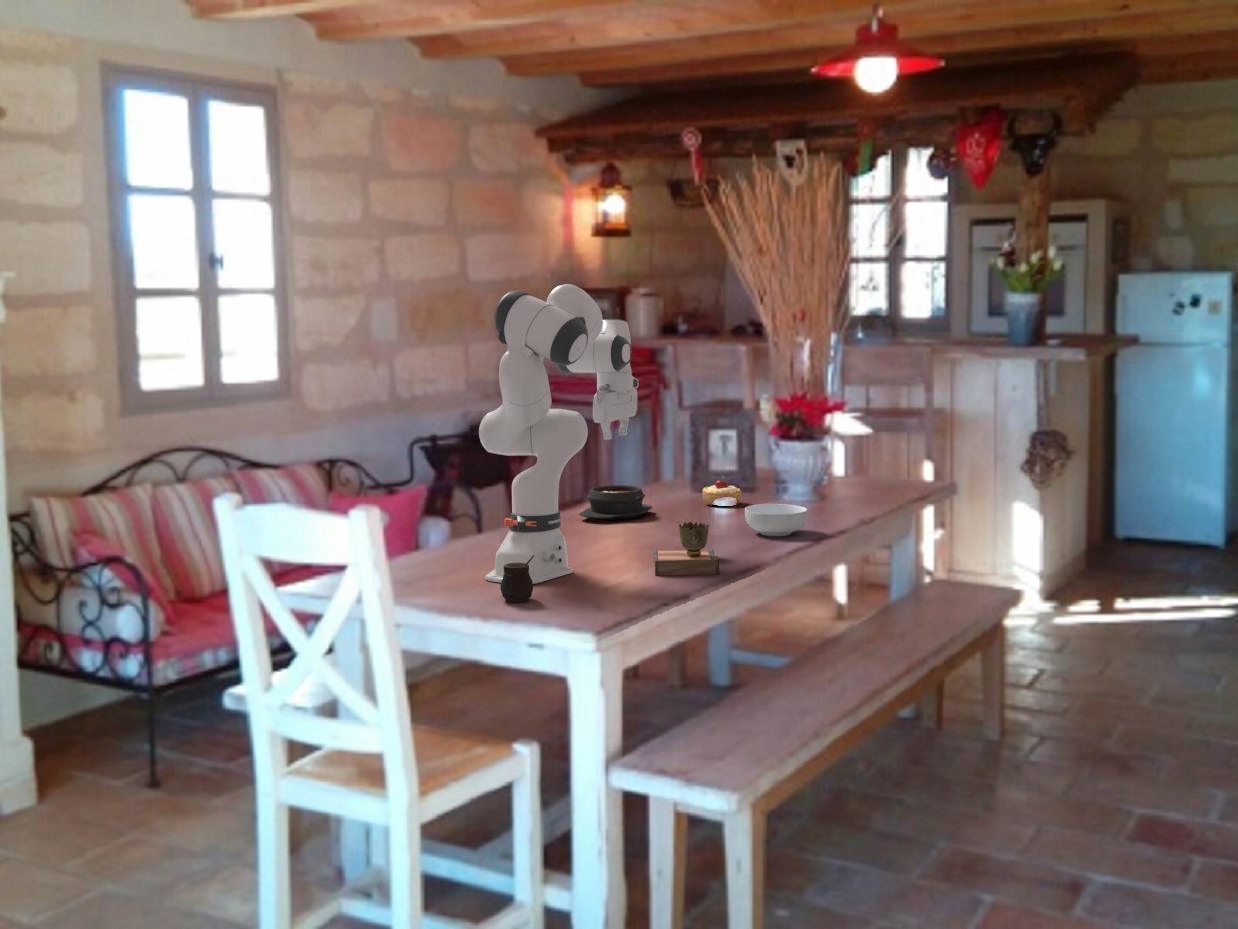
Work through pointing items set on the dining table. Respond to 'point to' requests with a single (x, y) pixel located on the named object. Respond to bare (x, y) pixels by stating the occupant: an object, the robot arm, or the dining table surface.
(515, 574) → the mate gourd
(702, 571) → the brown wooden tray
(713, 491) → the pastry
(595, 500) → the casserole
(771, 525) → the cereal bowl
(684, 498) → the dining table surface
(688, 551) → the cup
